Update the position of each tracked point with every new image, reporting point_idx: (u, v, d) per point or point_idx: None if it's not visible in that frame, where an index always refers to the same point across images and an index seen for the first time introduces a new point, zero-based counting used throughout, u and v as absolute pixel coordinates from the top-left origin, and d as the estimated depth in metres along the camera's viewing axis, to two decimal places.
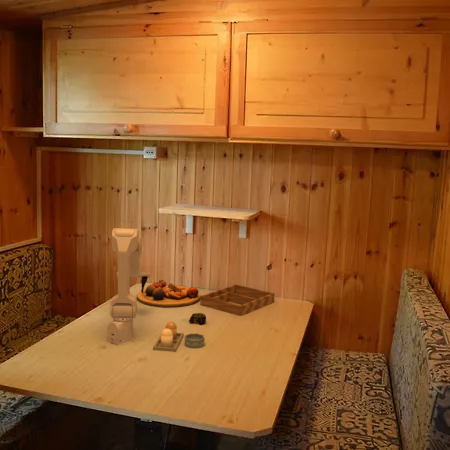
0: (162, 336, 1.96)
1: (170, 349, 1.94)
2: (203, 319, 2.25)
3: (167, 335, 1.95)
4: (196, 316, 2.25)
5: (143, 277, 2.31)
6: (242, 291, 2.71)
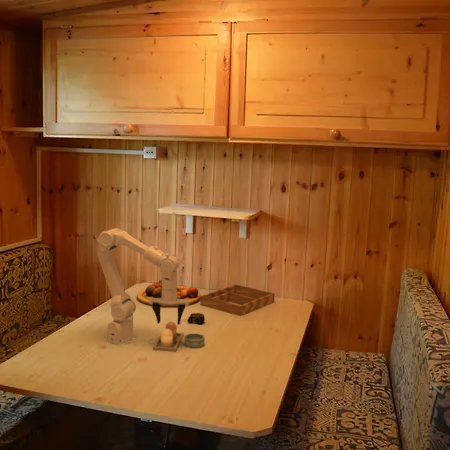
0: (162, 336, 1.96)
1: (170, 349, 1.94)
2: (202, 319, 2.25)
3: (167, 335, 1.95)
4: (195, 316, 2.25)
5: (180, 305, 1.96)
6: (242, 291, 2.71)
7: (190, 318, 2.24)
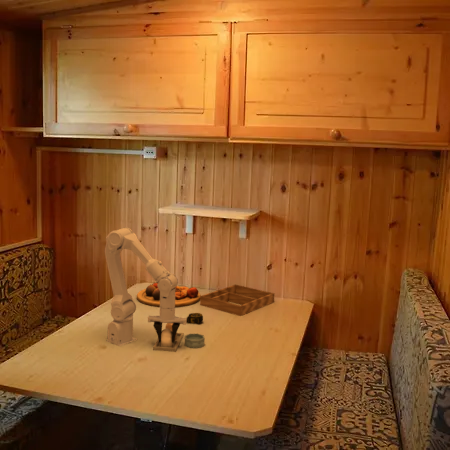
0: (162, 336, 1.96)
1: (170, 349, 1.94)
2: (200, 319, 2.25)
3: (167, 335, 1.95)
4: (193, 316, 2.25)
5: (178, 323, 1.96)
6: (242, 291, 2.71)
7: (188, 318, 2.24)
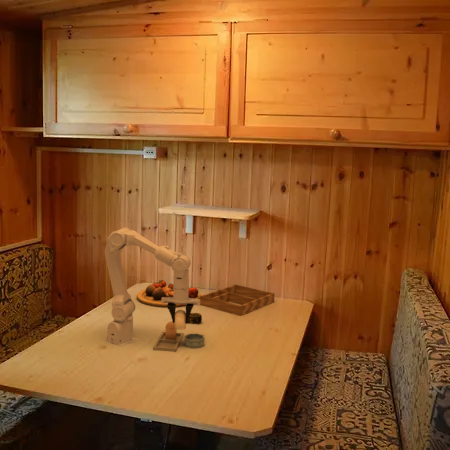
0: (176, 317, 1.96)
1: (170, 349, 1.94)
2: (199, 319, 2.25)
3: (181, 316, 1.96)
4: (192, 316, 2.25)
5: (192, 304, 1.96)
6: (242, 291, 2.71)
7: None
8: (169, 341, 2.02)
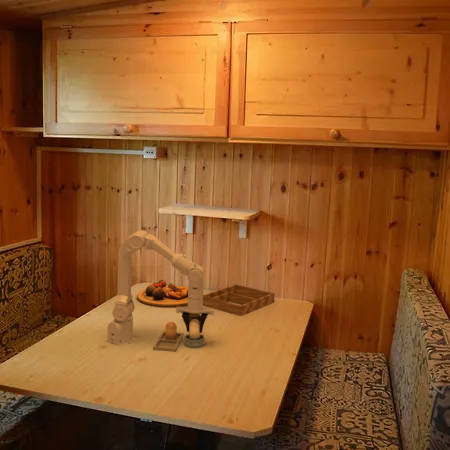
0: (190, 326, 1.99)
1: (170, 349, 1.94)
2: (198, 319, 2.25)
3: (195, 325, 1.98)
4: (191, 316, 2.25)
5: (206, 314, 1.98)
6: (242, 291, 2.71)
7: None
8: (169, 341, 2.02)
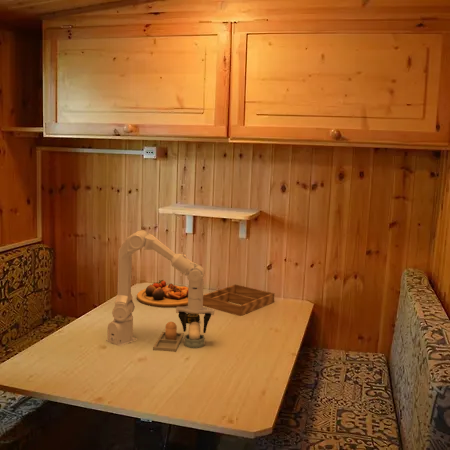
0: (190, 329, 1.99)
1: (170, 349, 1.94)
2: (197, 319, 2.25)
3: (195, 328, 1.98)
4: (190, 316, 2.25)
5: (206, 314, 1.98)
6: (242, 291, 2.71)
7: None
8: (169, 341, 2.02)
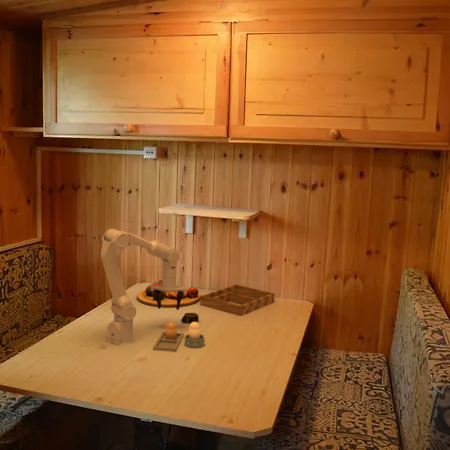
0: (190, 329, 1.99)
1: (170, 349, 1.94)
2: (195, 319, 2.25)
3: (195, 328, 1.98)
4: (188, 316, 2.25)
5: (179, 292, 2.13)
6: (242, 291, 2.71)
7: (184, 318, 2.24)
8: (169, 341, 2.02)
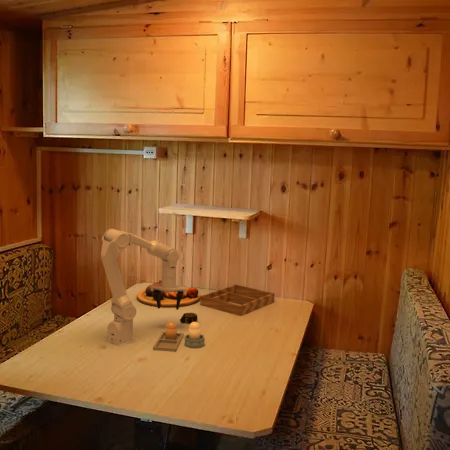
0: (190, 329, 1.99)
1: (170, 349, 1.94)
2: (194, 319, 2.25)
3: (195, 328, 1.98)
4: (187, 316, 2.25)
5: (179, 292, 2.13)
6: (242, 291, 2.71)
7: (183, 318, 2.24)
8: (169, 341, 2.02)
